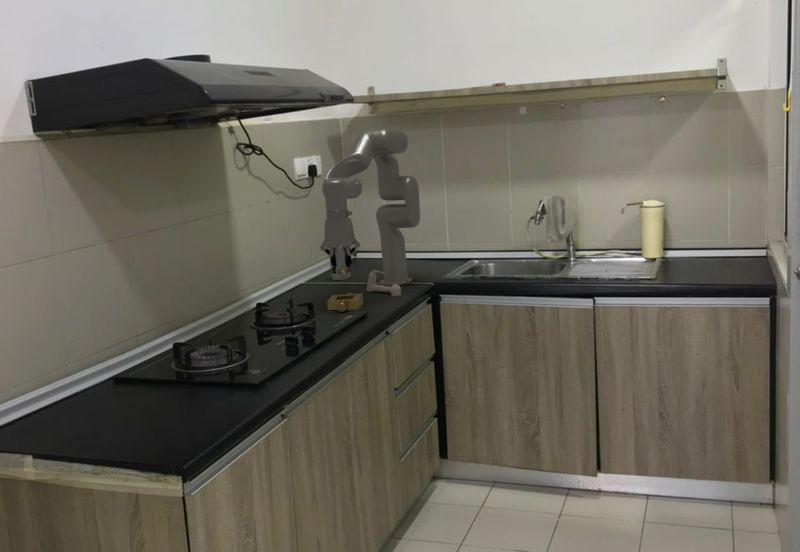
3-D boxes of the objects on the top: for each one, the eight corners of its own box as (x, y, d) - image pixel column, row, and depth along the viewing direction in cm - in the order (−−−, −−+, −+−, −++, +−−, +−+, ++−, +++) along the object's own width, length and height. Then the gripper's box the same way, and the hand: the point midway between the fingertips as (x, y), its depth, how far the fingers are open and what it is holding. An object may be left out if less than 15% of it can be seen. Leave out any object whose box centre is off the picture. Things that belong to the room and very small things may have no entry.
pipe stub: (337, 272, 303) (334, 244, 301) (349, 271, 302) (347, 243, 300) (335, 274, 298) (332, 246, 297) (347, 273, 298) (345, 245, 296)
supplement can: (344, 276, 366) (341, 242, 364) (354, 278, 360) (351, 243, 357) (328, 279, 362) (324, 244, 359) (338, 281, 355) (335, 246, 352)
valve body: (335, 302, 313) (334, 293, 312) (364, 300, 311) (363, 291, 311) (326, 314, 294) (325, 304, 293) (357, 312, 293) (356, 302, 292)
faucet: (393, 308, 317) (397, 284, 313) (364, 289, 328) (367, 266, 324) (401, 306, 320) (405, 282, 315) (372, 287, 331) (375, 264, 327)
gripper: (362, 212, 300) (366, 264, 303) (315, 215, 301) (320, 266, 304) (359, 214, 292) (364, 267, 295) (311, 218, 294) (316, 270, 297)
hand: (341, 266), depth 300 cm, fingers closed on pipe stub, 4 cm apart
